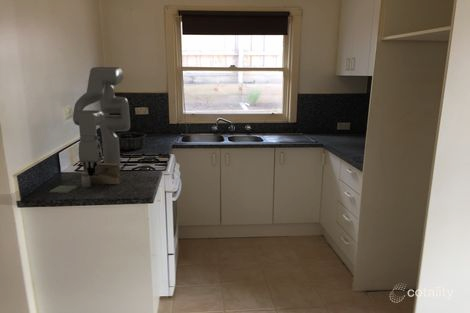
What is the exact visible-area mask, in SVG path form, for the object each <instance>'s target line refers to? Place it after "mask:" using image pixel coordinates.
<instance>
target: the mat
mask: <svg viewBox="0 0 470 313" xmlns="http://www.w3.org/2000/svg"><path fill="white" fill-rule="evenodd" d="M77 188H78V186H77V185H59V186H56V187H55V188H53V189H50V190H49V193H56V192H57V193H58V194H59V193H60V194H68V193H70V192H71V191H73V190H75V189H77ZM57 193H56V194H57Z"/></svg>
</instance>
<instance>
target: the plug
mask: <svg viewBox="0 0 470 313" xmlns="http://www.w3.org/2000/svg"><path fill="white" fill-rule="evenodd" d="M80 176H81V187H82V188H90V187H91V186H92V185H91V184H92V183H90V176H89V175H88V172H84V171H83V172H80Z"/></svg>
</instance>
